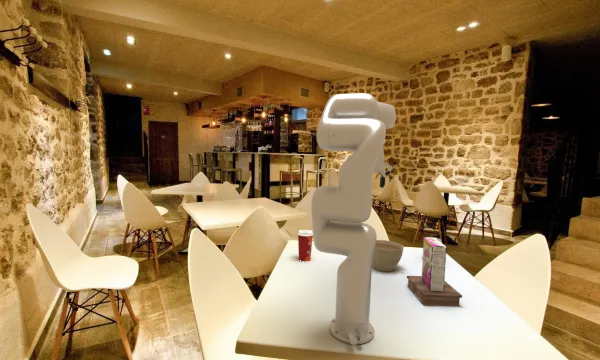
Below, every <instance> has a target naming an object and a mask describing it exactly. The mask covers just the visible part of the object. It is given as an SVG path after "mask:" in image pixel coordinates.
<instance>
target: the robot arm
mask: <svg viewBox="0 0 600 360" xmlns="http://www.w3.org/2000/svg"><path fill="white" fill-rule="evenodd" d="M396 119H397V115H396V108H395V106H394V105H393V104H389V103H385V102H381V101H378V100H377V99H376V98H375V96H373V94H372V95H371V94H369V93H366V92H363V93H362V92H361V93H360V92H359V93H358V92H357V93H355V92H354V93H339V94H338V93H337V94H333V95H332V96H330V98H329V99H328V100H327V102H326V104H325V106H324V109H323V111H322V114H321V116H320V120H319V123H318V125H317V128H316V143H317V145H318V146H319V148H320V149H321V150H324V151H329V152H353V153H352V154H350V156H348V157H347V158H346V159H345V160H344V161H343V163H342V164H341V166H340V167H339V169H338V172H337V173H338V174H337V175H338V185H320V186H318V187H316V188H315V190H314V191H313V193H312V197H311V204H310V205H311V207H310V209H311V210H310V211H311V223H312V232H313V238H312V240H313V243H314V244H313V245H314V247H315V249H316V250H317V251H319V252H321V253H326V254H332V255H339V256H345V257H346V258H345V259H344V260H343V261H342V262H341V263H340V264H339V266H338V268H337V272H336V294H335V295H336V296H335V318H333V319H332V320H331V321H330V323H329V331H330V333H331V335H332V336H333V337H334V338H335V339H337V340H338V341H341V342H342V343H346V344H349V345H350V344H351V345H352V346H355V345H362V344H363V345H364V344H366V343H368V342H370V341H372V340H373V338H374V336H375V328H374V326H373V325H372V324H371V322H370V312H371V311H370V308H371V293H372V292H371V287H372V270H373V264H372V262H373V255H374V251H375V246H376V240H378V239H377V237H378V236H377V232H376V230H375V228H374V227H373V226H372V225H370V224H368V223H365V222H366V221H368V220H369V218H370V217H371V214H372V206H373V204H372V203H373V199H372V197H373V174H375V173H376V174H379V175H380V177H379V187H380V188H382V189H384V188H385V185H386V178H387V177H388V176H389V175H390V174H391V172H392V171H393V168H394V167H393V166H392V165H390V164H388V163H387V162H385V154H384V153H385V152H384V145H386V136H387V135H386V133H387V131H386V130H390V129H392V128H393V127H394V126H395V123H396ZM385 168H387V170H386V171H385Z"/></svg>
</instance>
